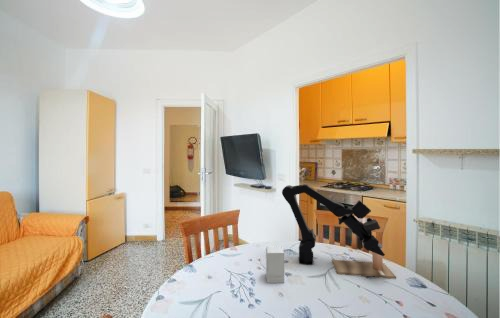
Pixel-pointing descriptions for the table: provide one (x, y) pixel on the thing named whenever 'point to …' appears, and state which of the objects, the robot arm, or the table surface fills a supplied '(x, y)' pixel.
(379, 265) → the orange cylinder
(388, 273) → the board
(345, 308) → the table surface
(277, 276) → the supplement box
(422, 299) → the table surface
